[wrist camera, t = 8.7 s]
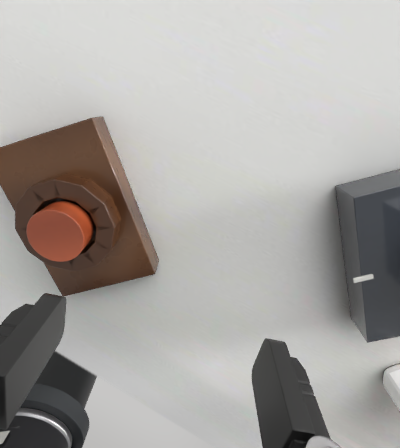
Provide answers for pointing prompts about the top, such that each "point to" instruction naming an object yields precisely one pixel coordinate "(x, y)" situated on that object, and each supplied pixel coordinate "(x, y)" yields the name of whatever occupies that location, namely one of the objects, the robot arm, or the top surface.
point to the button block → (80, 202)
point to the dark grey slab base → (372, 252)
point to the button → (60, 231)
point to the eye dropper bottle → (393, 383)
